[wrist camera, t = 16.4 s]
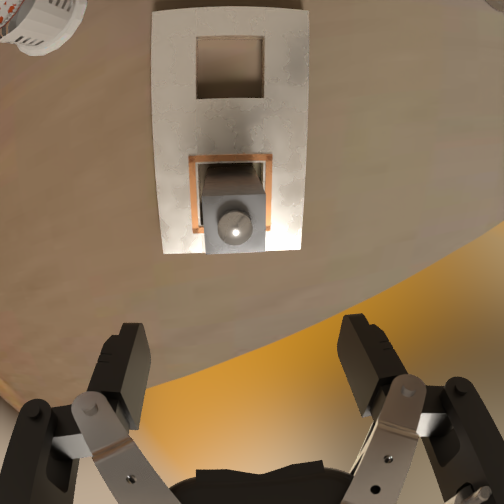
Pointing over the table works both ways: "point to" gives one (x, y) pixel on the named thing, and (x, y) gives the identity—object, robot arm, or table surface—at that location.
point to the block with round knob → (234, 211)
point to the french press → (40, 23)
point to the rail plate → (229, 119)
